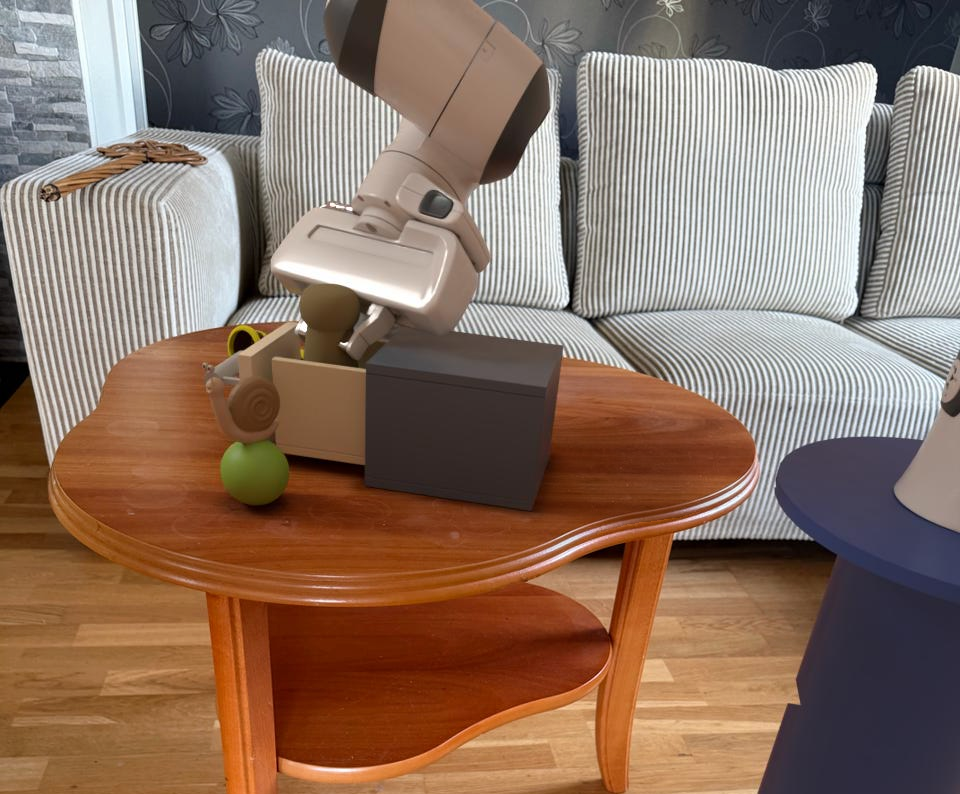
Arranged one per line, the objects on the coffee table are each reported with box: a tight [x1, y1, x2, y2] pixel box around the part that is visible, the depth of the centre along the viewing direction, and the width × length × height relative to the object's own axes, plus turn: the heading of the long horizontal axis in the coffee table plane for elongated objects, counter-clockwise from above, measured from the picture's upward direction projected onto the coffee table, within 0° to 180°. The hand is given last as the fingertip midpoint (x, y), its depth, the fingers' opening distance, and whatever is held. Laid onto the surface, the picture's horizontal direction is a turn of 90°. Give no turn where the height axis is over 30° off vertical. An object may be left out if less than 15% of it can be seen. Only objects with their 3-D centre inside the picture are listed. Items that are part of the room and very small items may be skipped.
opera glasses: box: [226, 324, 304, 358], centre depth 100 cm, size 10×5×5 cm, turn 39°
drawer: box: [203, 321, 389, 466], centre depth 82 cm, size 18×12×9 cm, turn 79°
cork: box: [298, 283, 360, 368], centre depth 79 cm, size 6×6×11 cm
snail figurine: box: [201, 361, 290, 506], centre depth 71 cm, size 5×6×12 cm
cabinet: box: [364, 326, 564, 512], centre depth 80 cm, size 15×13×11 cm
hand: (325, 347), depth 79 cm, fingers closed on cork, 4 cm apart
